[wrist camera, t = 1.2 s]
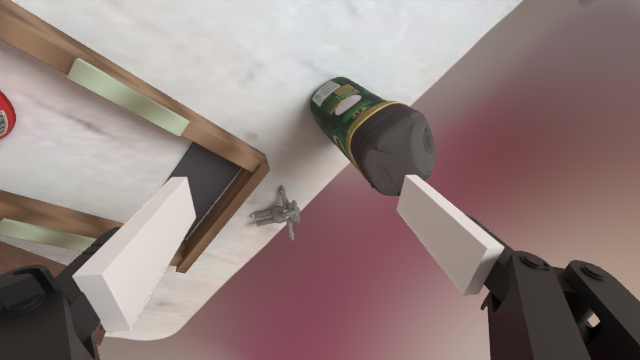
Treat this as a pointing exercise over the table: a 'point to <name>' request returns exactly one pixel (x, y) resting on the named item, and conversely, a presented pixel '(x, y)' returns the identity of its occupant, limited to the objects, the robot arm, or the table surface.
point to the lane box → (138, 97)
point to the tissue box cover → (11, 257)
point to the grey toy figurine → (280, 214)
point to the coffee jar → (375, 134)
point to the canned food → (6, 116)
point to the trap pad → (204, 177)
